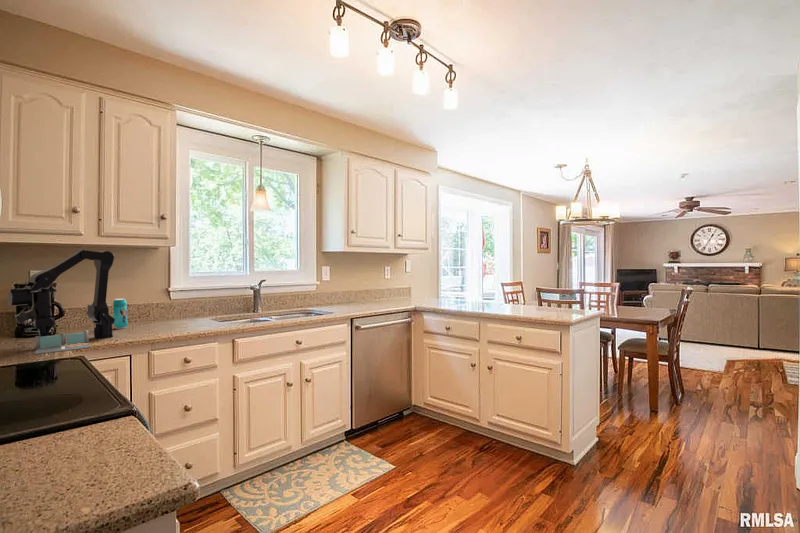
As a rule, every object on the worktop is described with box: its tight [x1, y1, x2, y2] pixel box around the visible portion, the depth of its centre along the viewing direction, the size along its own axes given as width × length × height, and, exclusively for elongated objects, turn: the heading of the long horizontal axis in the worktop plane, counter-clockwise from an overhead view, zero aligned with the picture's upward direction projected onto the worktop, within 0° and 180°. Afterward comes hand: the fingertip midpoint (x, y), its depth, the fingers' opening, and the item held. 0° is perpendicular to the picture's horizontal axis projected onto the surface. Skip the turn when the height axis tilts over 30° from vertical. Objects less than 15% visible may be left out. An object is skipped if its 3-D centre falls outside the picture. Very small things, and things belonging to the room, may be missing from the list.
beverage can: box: [112, 298, 128, 330], centre depth 217 cm, size 6×6×15 cm
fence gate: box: [34, 333, 67, 349], centre depth 174 cm, size 10×2×5 cm, turn 127°
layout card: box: [34, 341, 90, 355], centre depth 175 cm, size 17×18×1 cm
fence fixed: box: [65, 329, 90, 345], centre depth 179 cm, size 7×2×5 cm, turn 127°
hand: (43, 340), depth 176 cm, fingers closed
